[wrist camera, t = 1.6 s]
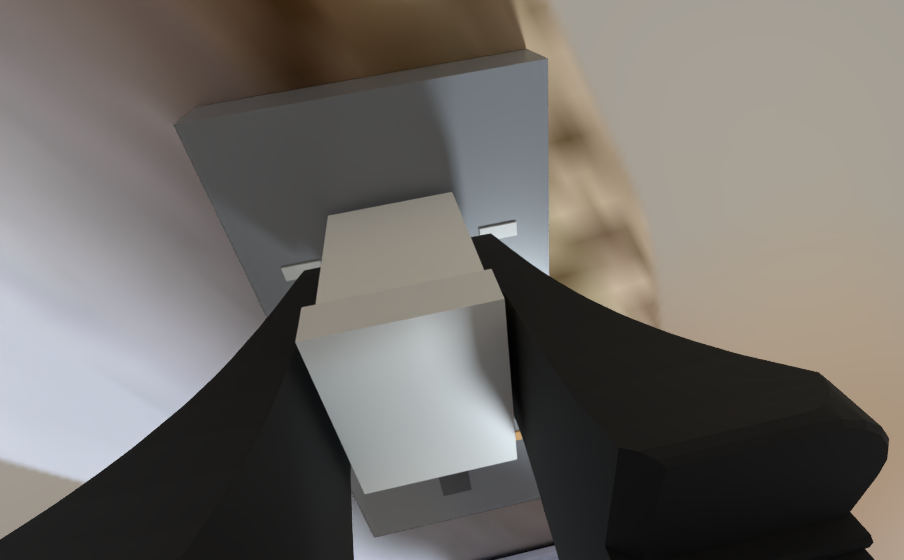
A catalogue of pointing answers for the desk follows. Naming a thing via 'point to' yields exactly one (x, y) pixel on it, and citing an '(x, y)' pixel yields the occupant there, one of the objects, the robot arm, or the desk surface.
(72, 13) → the desk surface
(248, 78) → the desk surface
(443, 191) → the console
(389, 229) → the fader tab
